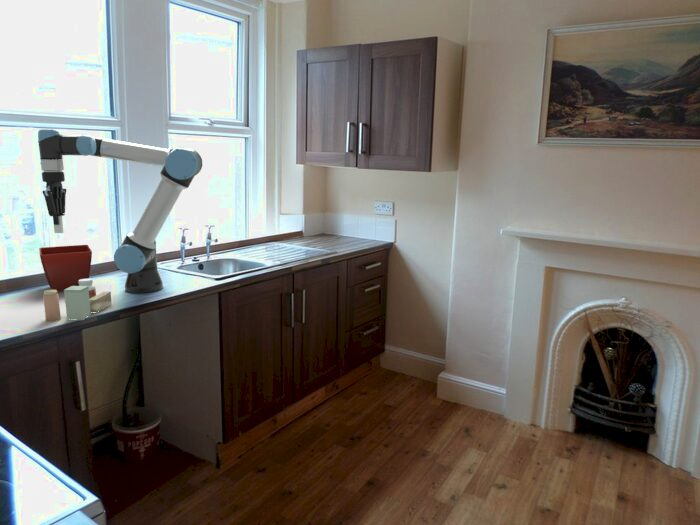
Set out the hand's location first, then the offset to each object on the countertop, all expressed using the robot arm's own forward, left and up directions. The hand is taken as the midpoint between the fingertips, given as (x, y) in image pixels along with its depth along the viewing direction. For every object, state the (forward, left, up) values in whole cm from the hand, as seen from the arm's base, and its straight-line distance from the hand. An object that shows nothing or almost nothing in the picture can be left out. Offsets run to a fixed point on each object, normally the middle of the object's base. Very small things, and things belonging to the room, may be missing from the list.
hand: (59, 232), depth 215 cm
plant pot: (-2, -19, -27) cm, 33 cm away
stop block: (-11, +22, -26) cm, 36 cm away
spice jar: (+5, +29, -26) cm, 40 cm away
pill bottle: (-7, +20, -27) cm, 34 cm away
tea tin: (-3, +31, -26) cm, 41 cm away
